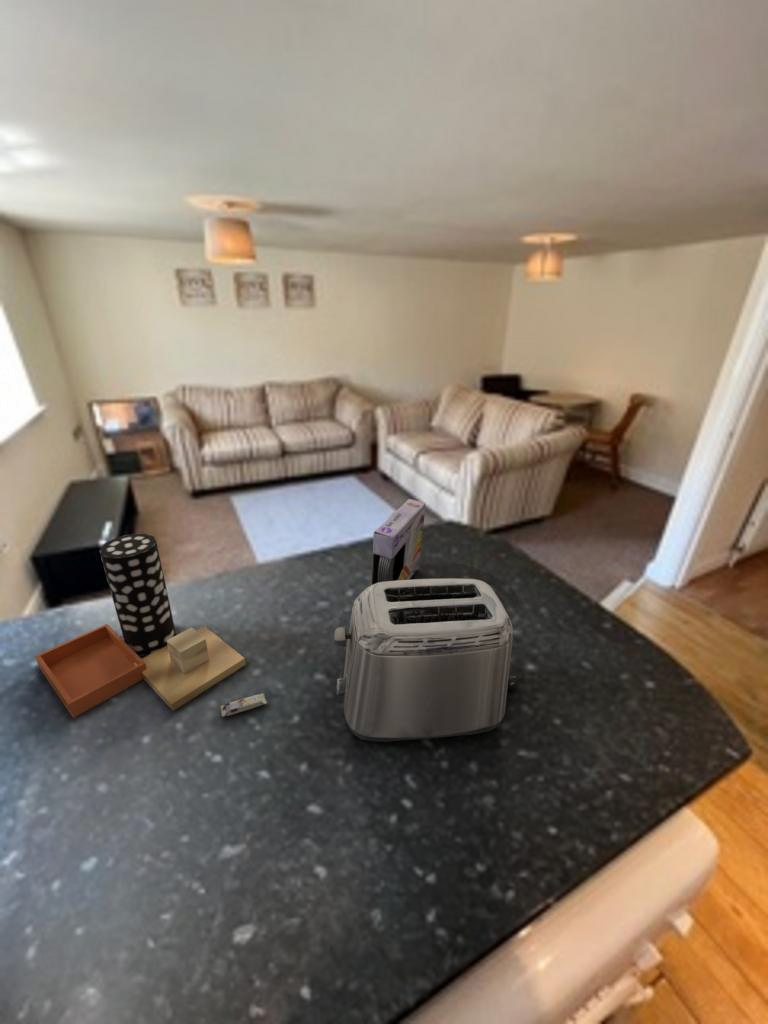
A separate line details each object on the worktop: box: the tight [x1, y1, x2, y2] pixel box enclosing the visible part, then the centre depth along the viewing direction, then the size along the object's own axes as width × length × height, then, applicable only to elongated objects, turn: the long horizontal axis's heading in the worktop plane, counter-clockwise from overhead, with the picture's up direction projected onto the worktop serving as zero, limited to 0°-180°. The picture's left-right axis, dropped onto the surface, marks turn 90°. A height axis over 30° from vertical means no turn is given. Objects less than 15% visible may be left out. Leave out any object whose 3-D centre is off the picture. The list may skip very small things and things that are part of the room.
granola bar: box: [219, 692, 268, 717], centre depth 69 cm, size 7×2×1 cm, turn 113°
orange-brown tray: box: [34, 623, 147, 719], centre depth 74 cm, size 15×11×3 cm
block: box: [167, 626, 209, 674], centre depth 75 cm, size 4×4×4 cm
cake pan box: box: [371, 498, 427, 586], centre depth 97 cm, size 19×5×18 cm, turn 155°
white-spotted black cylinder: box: [99, 533, 177, 657], centre depth 78 cm, size 8×8×20 cm
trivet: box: [133, 625, 247, 712], centre depth 76 cm, size 13×13×2 cm
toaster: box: [333, 578, 517, 743], centre depth 68 cm, size 17×30×19 cm, turn 95°
